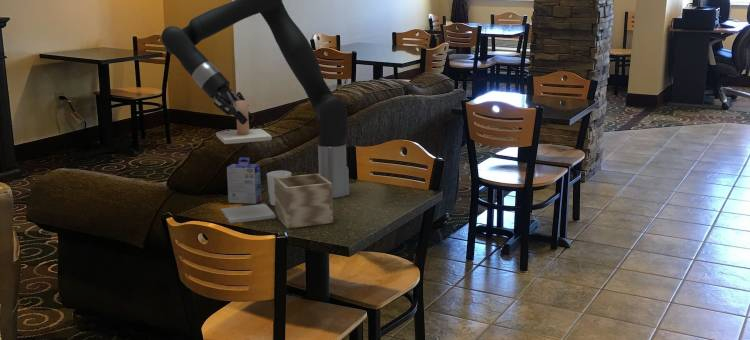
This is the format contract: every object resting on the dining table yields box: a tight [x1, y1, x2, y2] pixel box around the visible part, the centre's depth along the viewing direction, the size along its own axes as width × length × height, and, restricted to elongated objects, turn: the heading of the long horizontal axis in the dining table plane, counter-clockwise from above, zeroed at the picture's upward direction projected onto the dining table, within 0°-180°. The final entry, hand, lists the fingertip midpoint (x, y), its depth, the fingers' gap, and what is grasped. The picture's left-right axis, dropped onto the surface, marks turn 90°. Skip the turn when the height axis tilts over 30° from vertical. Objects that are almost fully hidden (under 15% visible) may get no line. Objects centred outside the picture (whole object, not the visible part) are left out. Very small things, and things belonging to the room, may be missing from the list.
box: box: [274, 173, 334, 229], centre depth 243 cm, size 14×14×12 cm
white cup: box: [266, 170, 292, 207], centre depth 262 cm, size 8×8×10 cm
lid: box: [215, 99, 273, 145], centre depth 244 cm, size 14×14×11 cm
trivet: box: [220, 203, 277, 224], centre depth 251 cm, size 14×14×1 cm
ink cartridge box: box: [226, 156, 263, 205], centre depth 265 cm, size 10×6×14 cm, turn 78°
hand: (248, 121), depth 244 cm, fingers closed on lid, 3 cm apart
